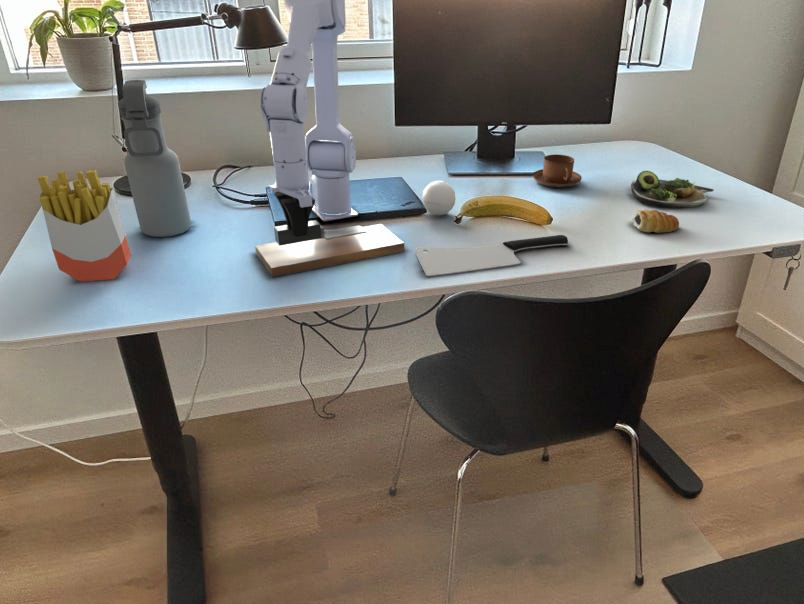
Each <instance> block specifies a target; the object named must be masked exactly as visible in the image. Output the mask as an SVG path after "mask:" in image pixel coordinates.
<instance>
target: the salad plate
mask: <svg viewBox="0 0 804 604" xmlns="http://www.w3.org/2000/svg"><path fill="white" fill-rule="evenodd" d="M695 183H696V181H693V182H692V183H691V182H690V180H689V179H684V178H683V179H682V178H679V177H676V178H675V179H670V180H666V179H659V177H658V175H657V174H656V173H655V172H653V171H651V170H642V171H641V172H639V174H638V175H637V177H636V179H635V180H632V182H631V183H630V188H631V193H632V196H633V198H634V199H635V201H637V202H639V203H641V204H642V205H646V206H650V207H656V208H673V209H674V208H695V207H698V206H700V205H702V204H704V203H706V202H707V201H708V197H707V196H706V195H705V194H706V193H711V192H712V193H713V192H714V191H715V190H714V188H710V187H706V186H701V185H695Z"/></svg>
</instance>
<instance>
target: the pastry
mask: <svg viewBox="0 0 804 604" xmlns="http://www.w3.org/2000/svg"><path fill="white" fill-rule="evenodd" d="M632 222H633V226H634V227H635V228H636V229H638V230H639V231H640V232H643V233H651V232H654V233H655V234H656V233H657V234H661V233H670V232H674V231H676V230H678V229H679V228H680V222H679V219H678V218H677V217H676V216H675V215H673V214H667V212H663V211H658V210H656V209H651V210H649V209H642V210H641V209H640V210H636V213H635V214H634V215H633V217H632Z"/></svg>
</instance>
